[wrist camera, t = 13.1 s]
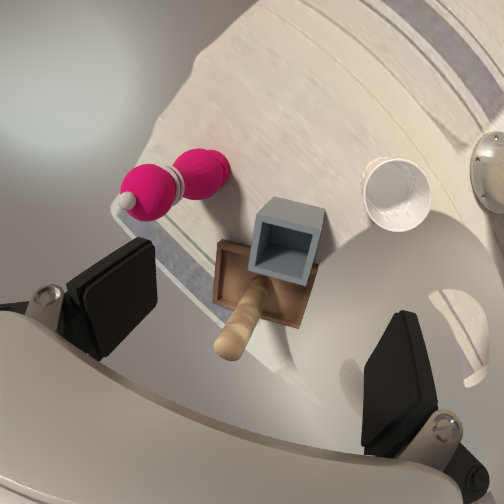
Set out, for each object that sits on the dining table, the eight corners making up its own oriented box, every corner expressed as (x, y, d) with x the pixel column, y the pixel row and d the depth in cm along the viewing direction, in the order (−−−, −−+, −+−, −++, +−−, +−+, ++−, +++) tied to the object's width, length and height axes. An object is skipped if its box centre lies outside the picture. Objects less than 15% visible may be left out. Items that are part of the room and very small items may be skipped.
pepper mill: (200, 139, 38) (103, 153, 21) (241, 159, 38) (160, 185, 21) (184, 179, 42) (92, 217, 25) (222, 200, 42) (141, 253, 24)
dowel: (274, 278, 44) (243, 345, 30) (270, 296, 45) (239, 364, 32) (253, 272, 45) (214, 335, 31) (250, 290, 46) (212, 354, 32)
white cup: (351, 200, 36) (355, 222, 27) (362, 146, 32) (371, 149, 24) (401, 214, 34) (420, 240, 26) (414, 161, 31) (439, 171, 22)
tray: (318, 264, 41) (317, 270, 40) (300, 322, 47) (298, 329, 45) (221, 239, 44) (217, 243, 43) (216, 297, 50) (212, 302, 48)
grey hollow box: (324, 209, 37) (321, 229, 30) (312, 255, 41) (305, 286, 33) (273, 196, 39) (256, 213, 31) (265, 243, 42) (247, 270, 35)
